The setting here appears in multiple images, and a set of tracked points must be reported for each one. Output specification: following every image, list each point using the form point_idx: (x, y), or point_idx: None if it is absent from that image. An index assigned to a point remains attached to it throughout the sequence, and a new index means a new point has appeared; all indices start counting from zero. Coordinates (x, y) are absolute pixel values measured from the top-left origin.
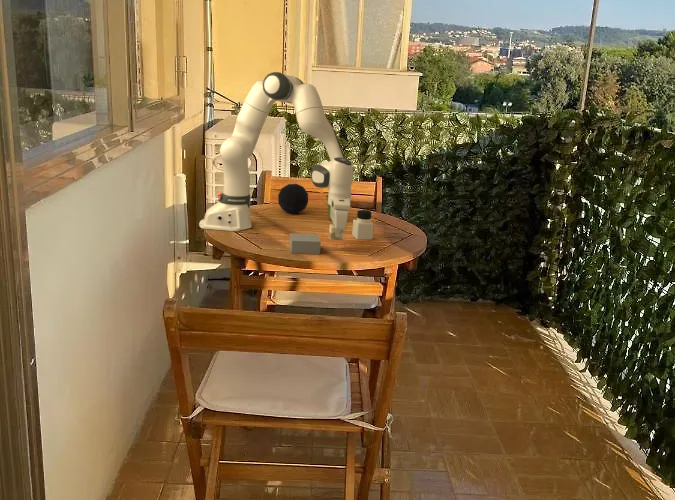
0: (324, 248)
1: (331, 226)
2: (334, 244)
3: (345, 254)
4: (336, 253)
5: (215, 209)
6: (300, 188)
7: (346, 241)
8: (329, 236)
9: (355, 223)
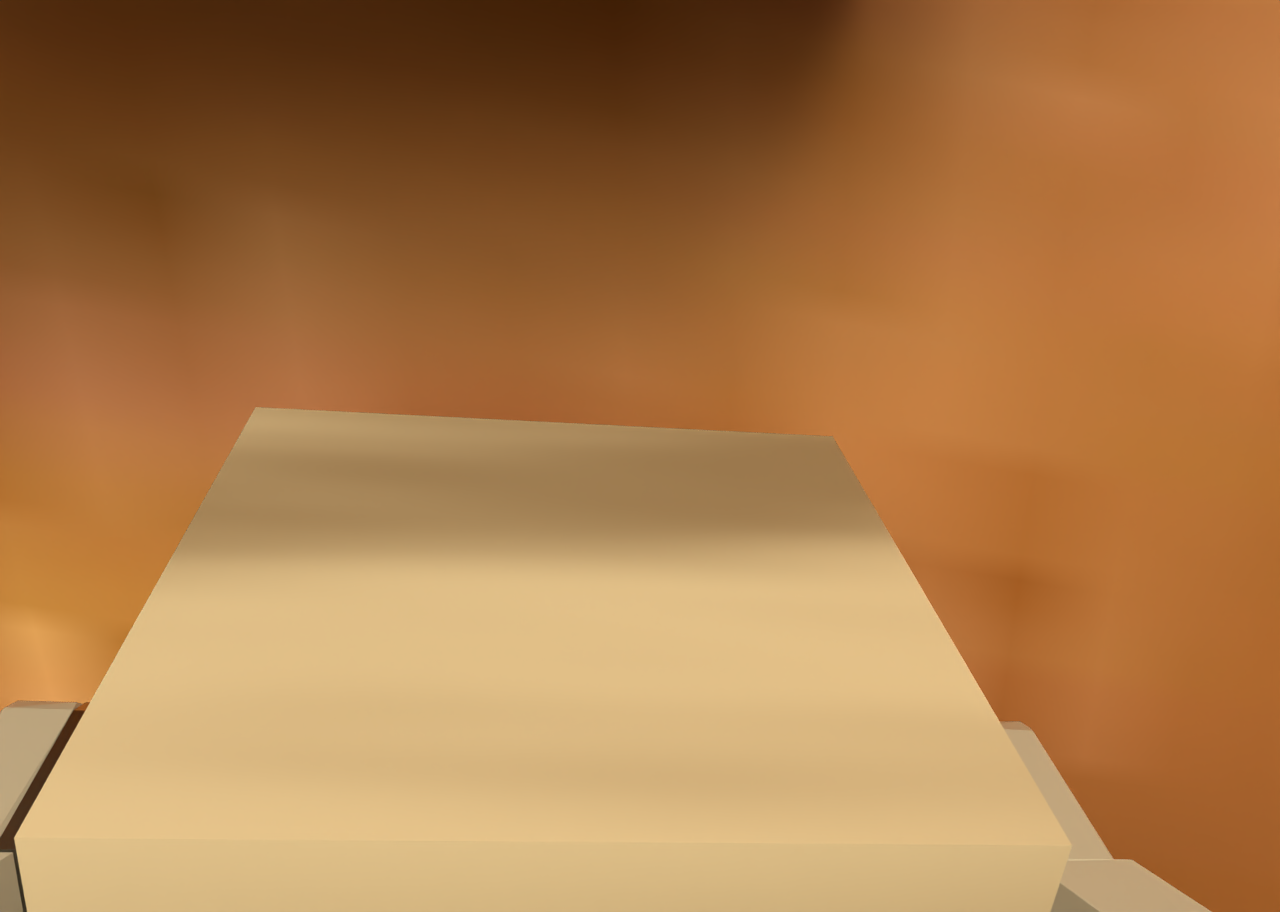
0: (618, 146)
1: (377, 871)
2: (1027, 529)
3: (40, 655)
4: (88, 429)
5: None
6: None
7: (1239, 843)
8: (651, 446)
9: None
